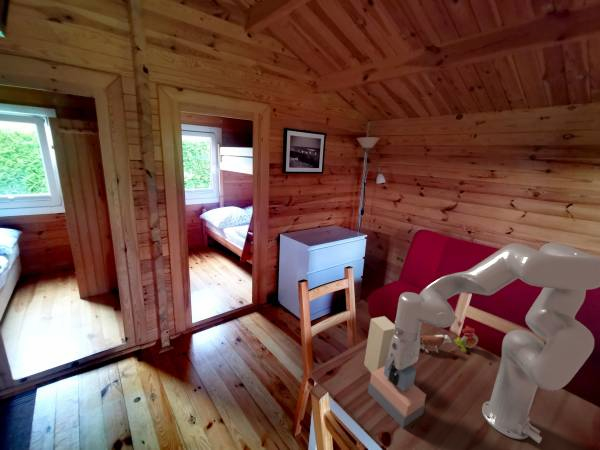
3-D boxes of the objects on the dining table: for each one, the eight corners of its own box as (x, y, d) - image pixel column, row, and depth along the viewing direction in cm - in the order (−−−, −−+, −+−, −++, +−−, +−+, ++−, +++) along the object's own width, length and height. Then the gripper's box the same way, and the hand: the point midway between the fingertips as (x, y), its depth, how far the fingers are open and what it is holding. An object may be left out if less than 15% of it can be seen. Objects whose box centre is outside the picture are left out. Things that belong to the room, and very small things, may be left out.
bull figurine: (450, 354, 118) (454, 338, 116) (419, 352, 118) (422, 336, 116) (445, 348, 122) (448, 332, 120) (415, 346, 122) (418, 330, 120)
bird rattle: (463, 347, 127) (448, 341, 125) (476, 327, 125) (462, 321, 123) (473, 356, 121) (458, 350, 119) (487, 336, 119) (472, 329, 117)
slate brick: (413, 385, 88) (416, 370, 87) (403, 391, 86) (406, 375, 84) (393, 369, 95) (396, 354, 94) (383, 374, 92) (386, 359, 91)
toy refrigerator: (391, 375, 105) (399, 327, 100) (376, 379, 102) (383, 330, 97) (378, 360, 112) (385, 315, 107) (363, 364, 109) (370, 318, 104)
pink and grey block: (422, 413, 89) (427, 394, 87) (402, 428, 84) (406, 407, 82) (387, 381, 101) (390, 363, 99) (367, 392, 96) (370, 373, 94)
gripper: (398, 346, 78) (389, 398, 83) (433, 330, 87) (424, 377, 92) (378, 332, 85) (371, 380, 89) (413, 318, 93) (405, 363, 98)
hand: (398, 378), depth 90 cm, fingers closed on slate brick, 4 cm apart
